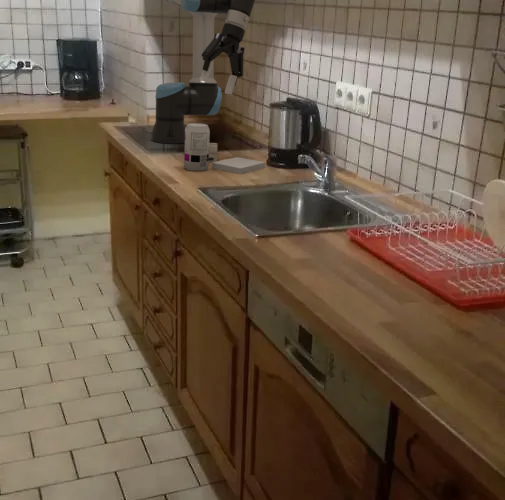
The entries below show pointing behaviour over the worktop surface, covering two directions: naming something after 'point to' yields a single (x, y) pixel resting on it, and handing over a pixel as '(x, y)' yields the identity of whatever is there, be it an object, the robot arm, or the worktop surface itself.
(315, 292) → the worktop surface
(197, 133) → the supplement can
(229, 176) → the worktop surface
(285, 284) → the worktop surface
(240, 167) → the grey board
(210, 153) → the letter block
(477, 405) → the worktop surface
